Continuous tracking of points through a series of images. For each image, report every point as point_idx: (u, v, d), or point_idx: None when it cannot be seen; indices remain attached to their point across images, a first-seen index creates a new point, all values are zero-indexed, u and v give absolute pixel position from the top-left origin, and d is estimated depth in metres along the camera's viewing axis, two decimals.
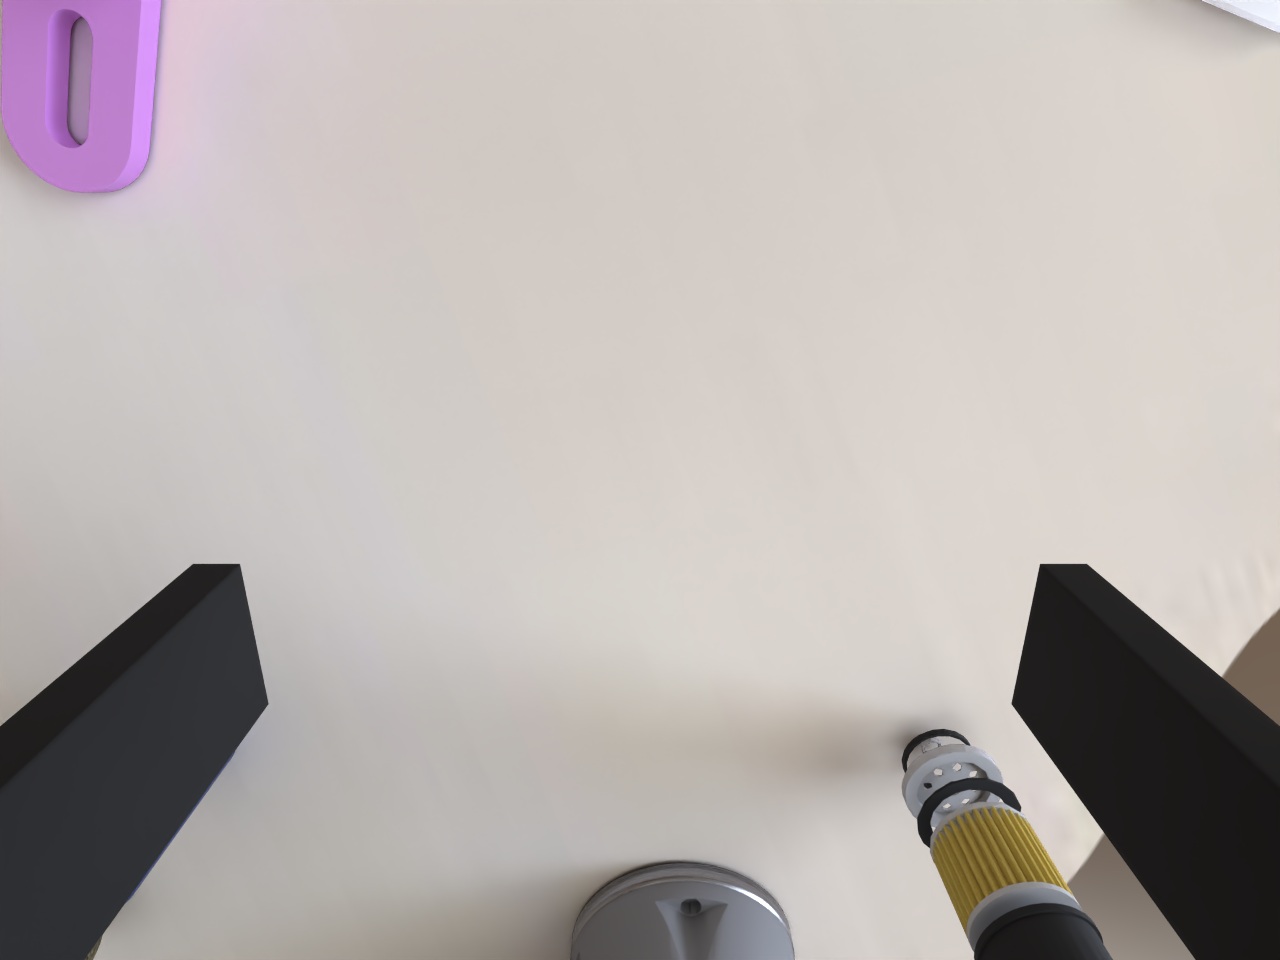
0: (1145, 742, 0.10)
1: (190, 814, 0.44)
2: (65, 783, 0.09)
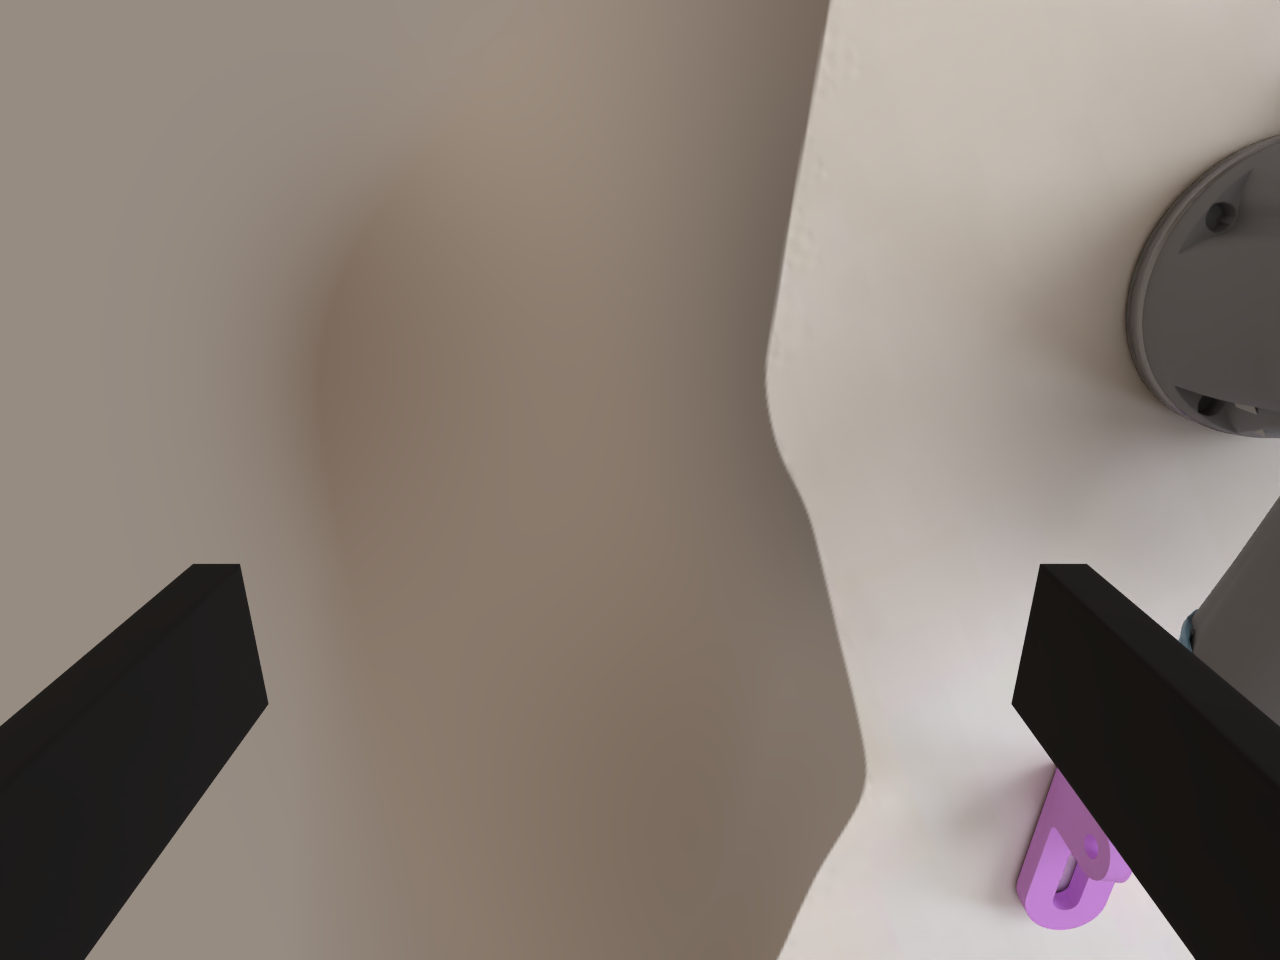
0: (1145, 742, 0.10)
1: None
2: (65, 783, 0.09)
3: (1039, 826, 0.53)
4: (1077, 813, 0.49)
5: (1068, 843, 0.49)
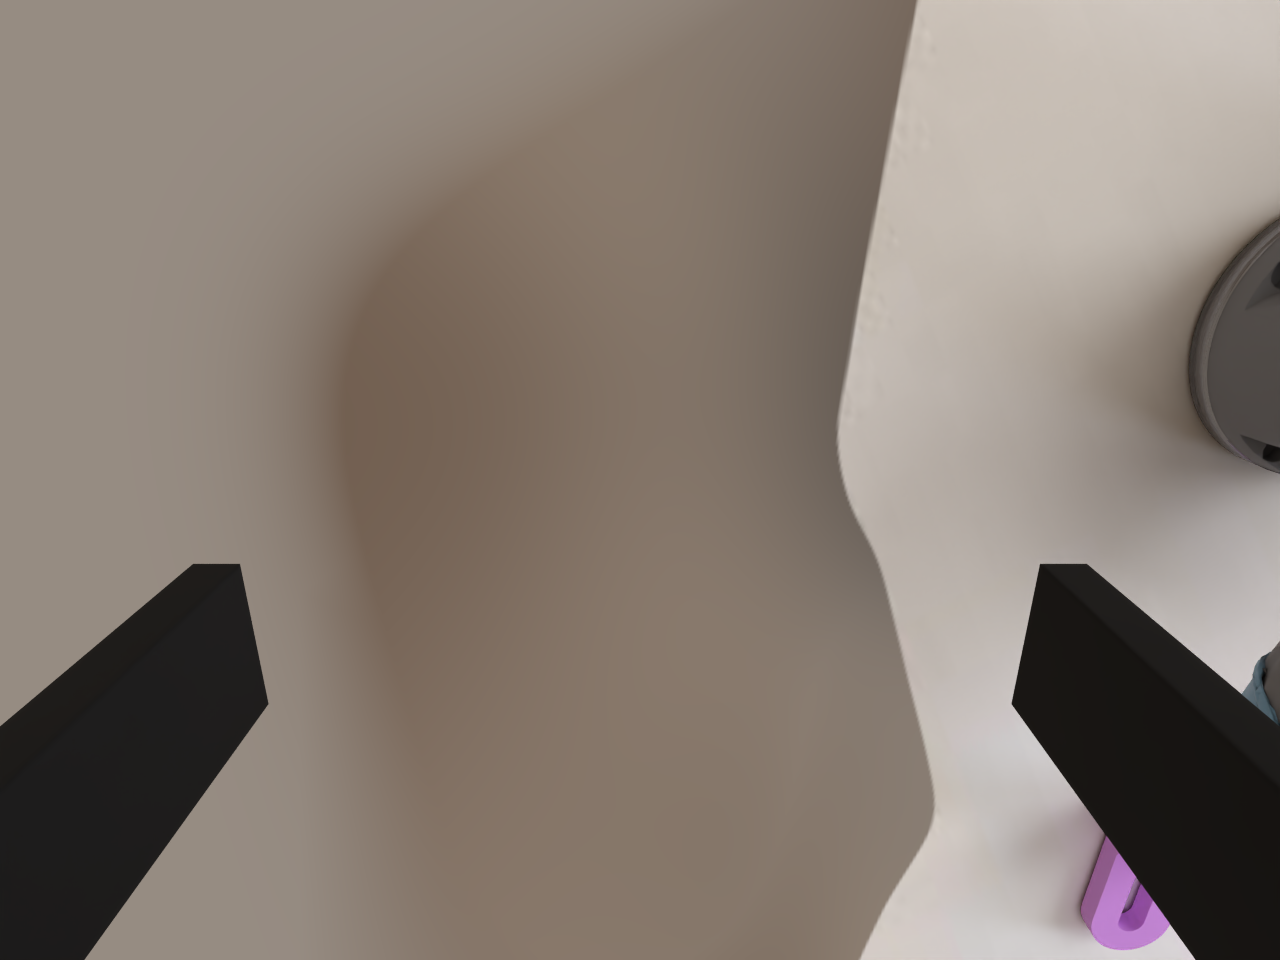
0: (1145, 742, 0.10)
1: None
2: (66, 783, 0.09)
3: (1103, 851, 0.54)
4: None
5: None
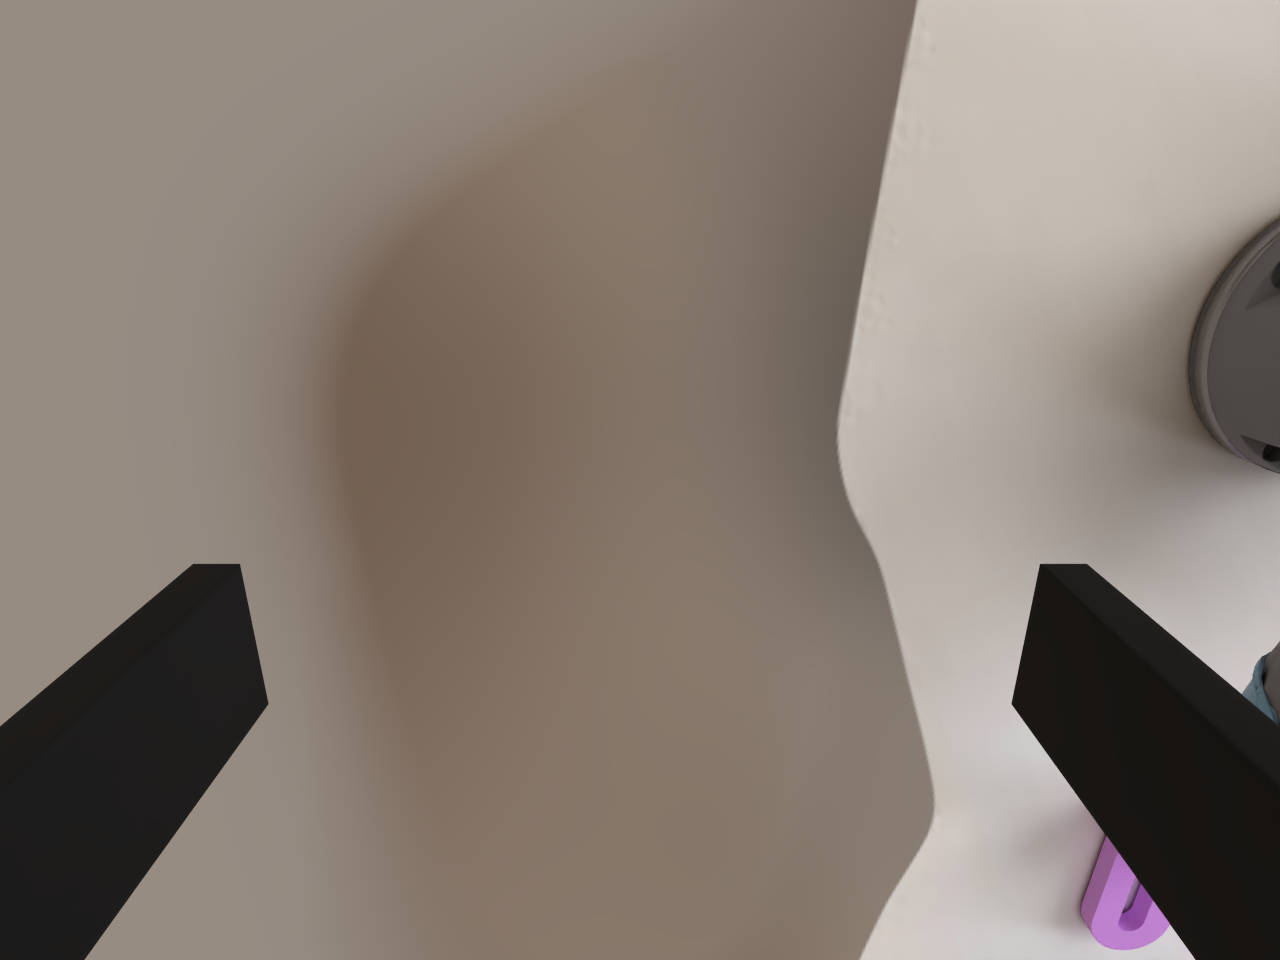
0: (1145, 742, 0.10)
1: None
2: (66, 783, 0.09)
3: (1103, 851, 0.54)
4: None
5: None
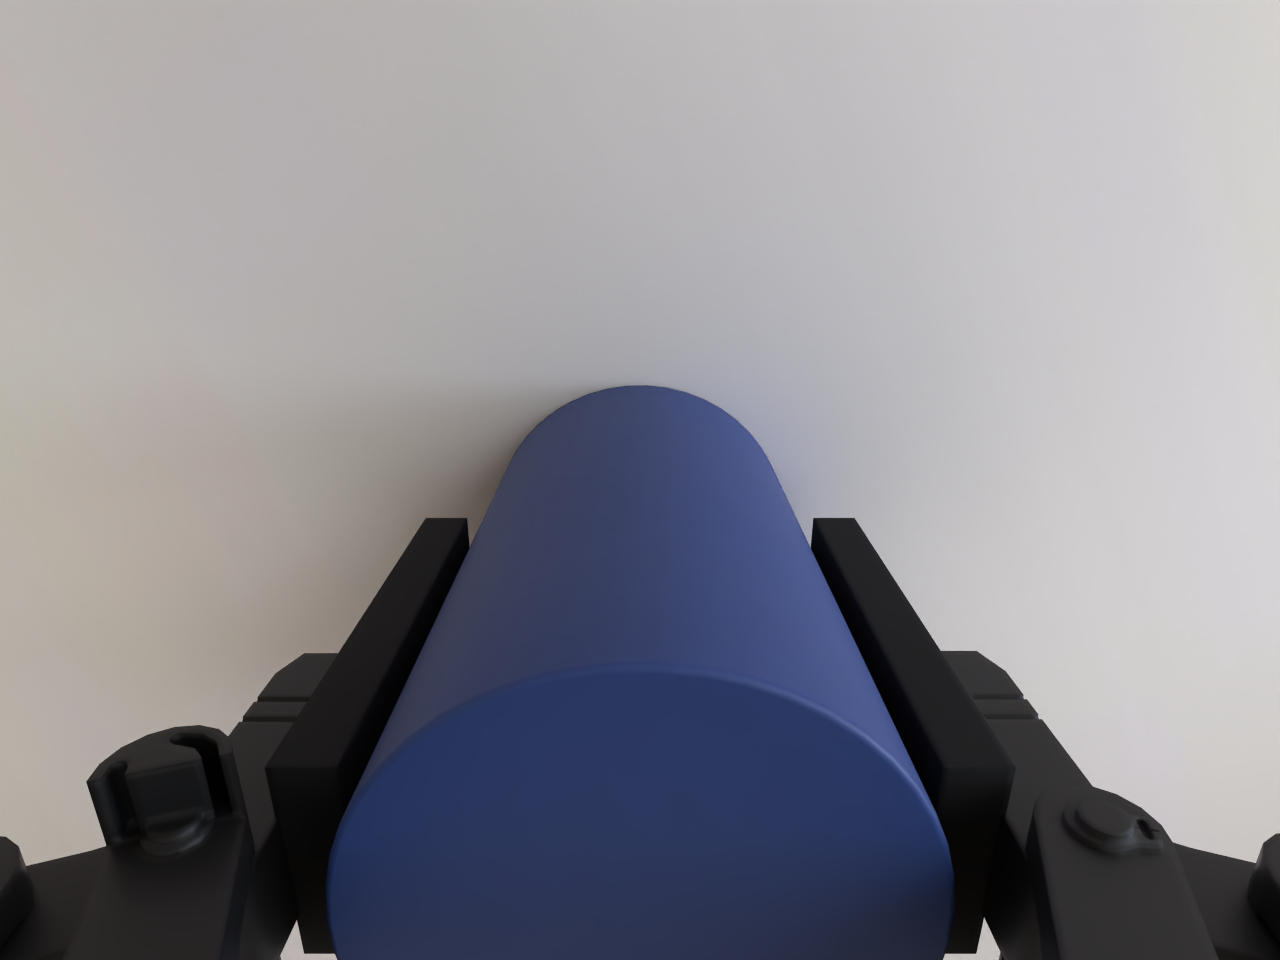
0: None
1: None
2: (404, 684, 0.10)
3: None
4: None
5: None
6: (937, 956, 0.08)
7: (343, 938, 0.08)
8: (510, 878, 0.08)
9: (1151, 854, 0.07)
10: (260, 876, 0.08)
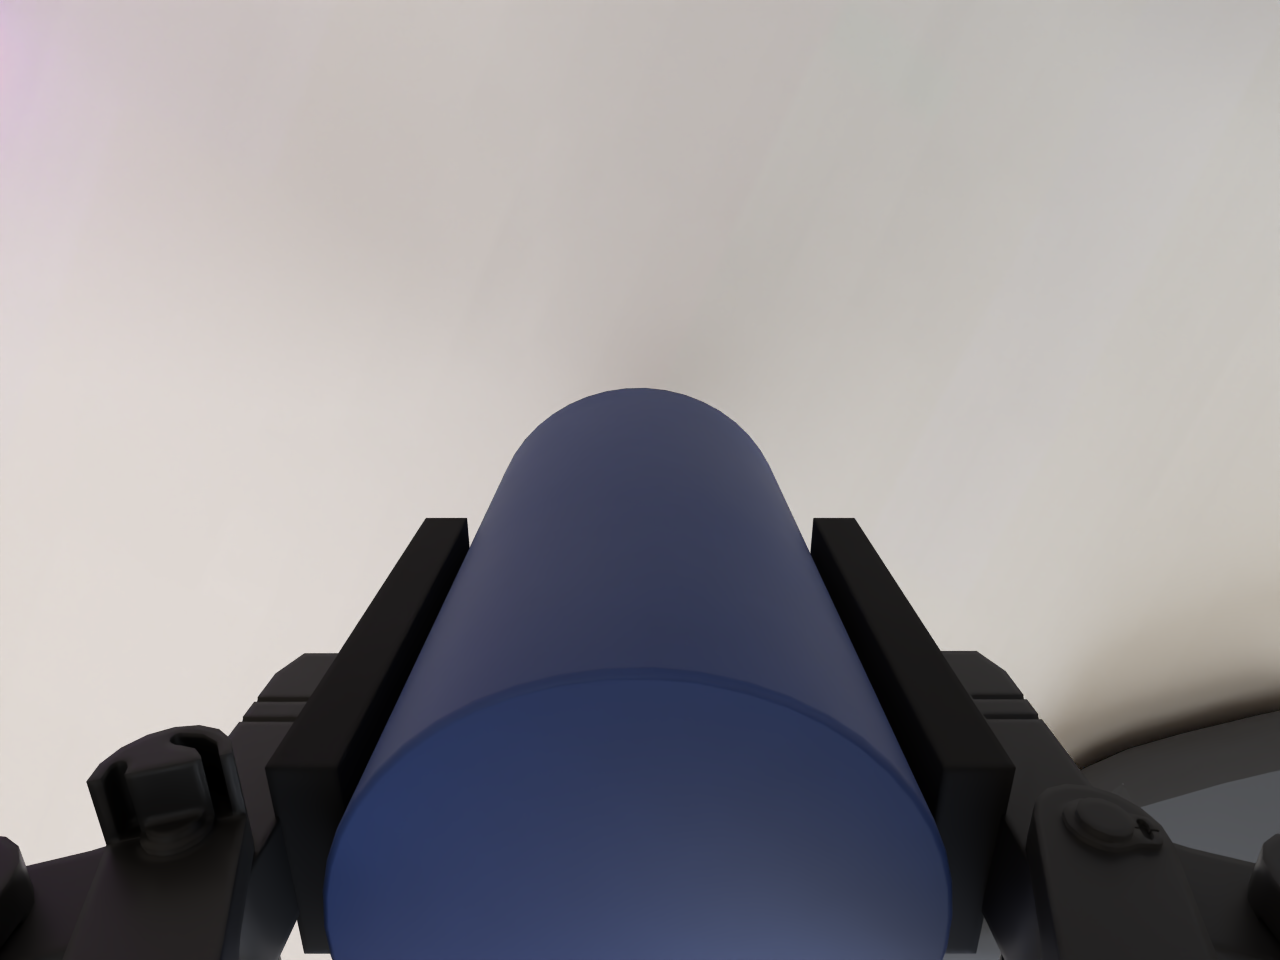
0: None
1: None
2: (404, 684, 0.10)
3: None
4: None
5: None
6: None
7: (340, 943, 0.08)
8: (508, 883, 0.08)
9: (1151, 854, 0.07)
10: (260, 876, 0.08)
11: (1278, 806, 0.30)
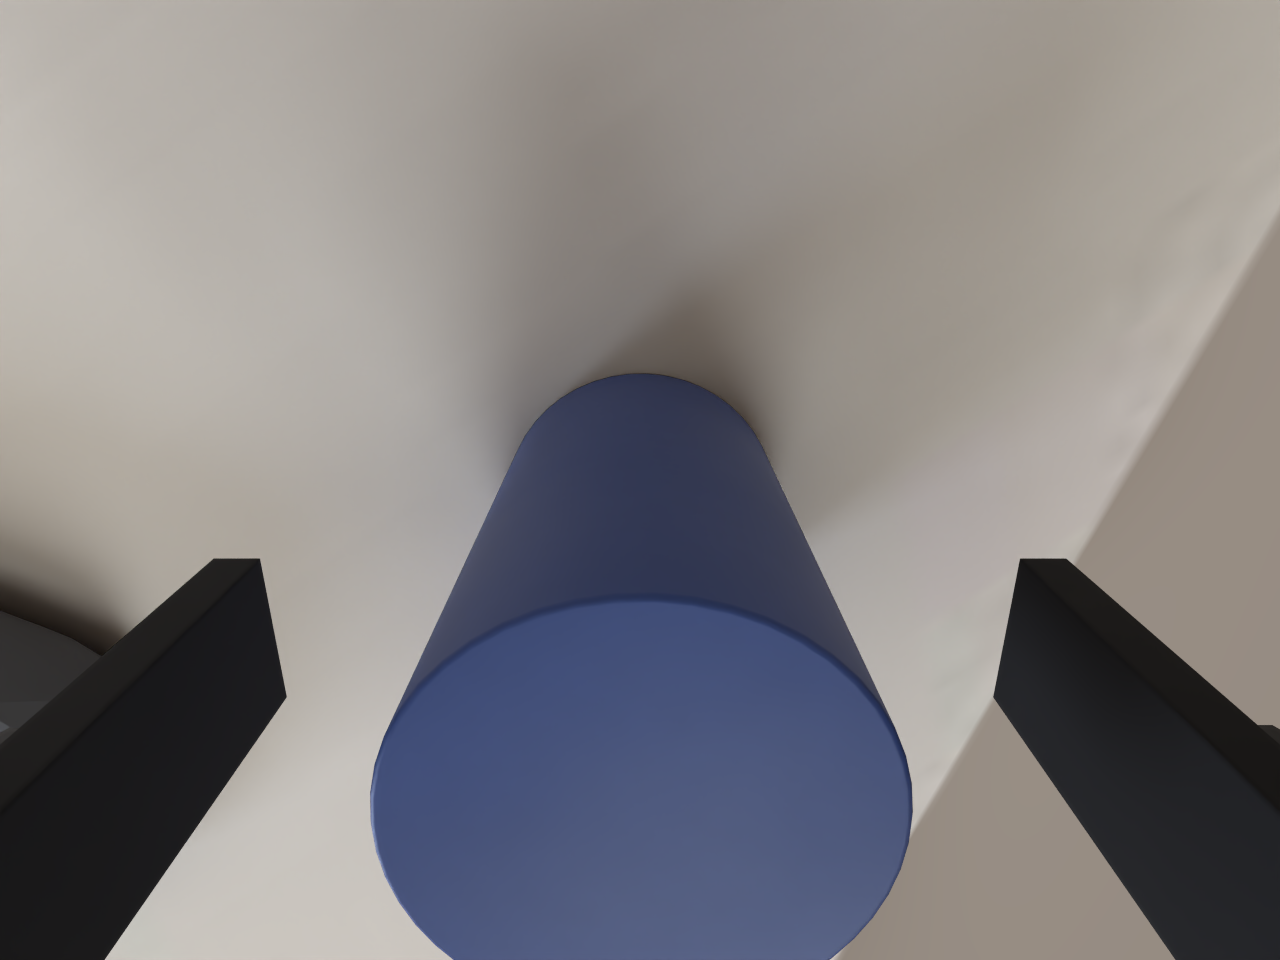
0: (1118, 732, 0.10)
1: None
2: (98, 771, 0.09)
3: None
4: None
5: None
6: (898, 856, 0.09)
7: (385, 840, 0.09)
8: (530, 784, 0.09)
9: None
10: None
11: None
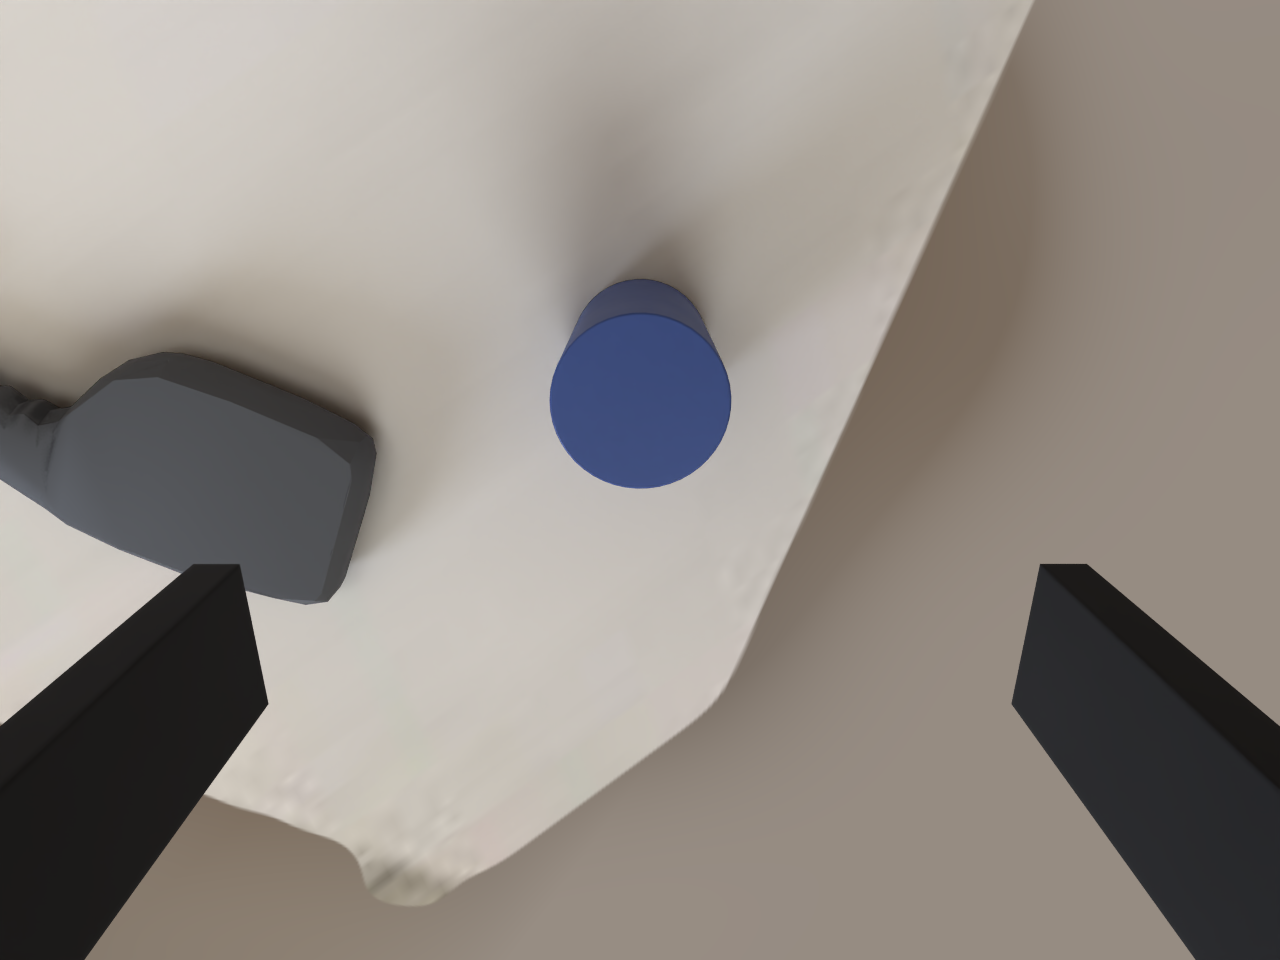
0: (1145, 742, 0.10)
1: None
2: (66, 783, 0.09)
3: None
4: None
5: None
6: (727, 413, 0.27)
7: (554, 406, 0.27)
8: (604, 383, 0.27)
9: None
10: None
11: (263, 454, 0.35)
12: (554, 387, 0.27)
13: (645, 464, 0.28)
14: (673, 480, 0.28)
